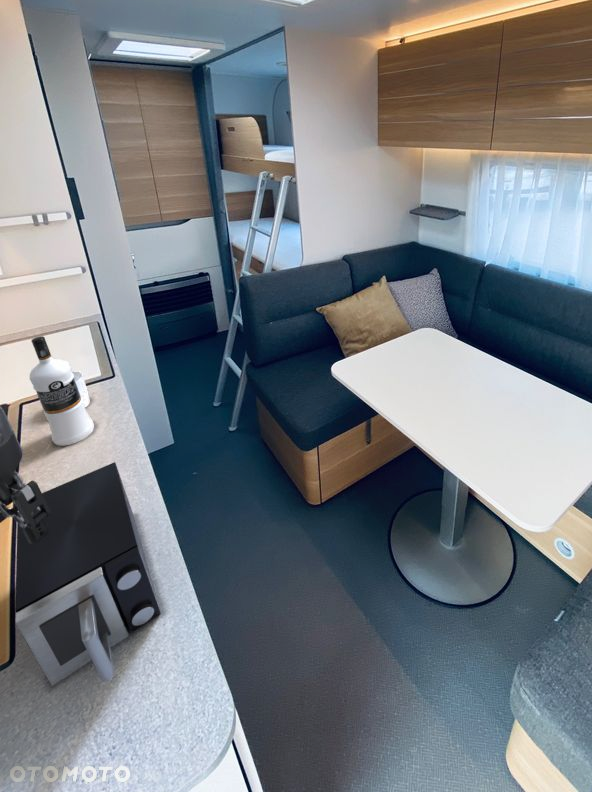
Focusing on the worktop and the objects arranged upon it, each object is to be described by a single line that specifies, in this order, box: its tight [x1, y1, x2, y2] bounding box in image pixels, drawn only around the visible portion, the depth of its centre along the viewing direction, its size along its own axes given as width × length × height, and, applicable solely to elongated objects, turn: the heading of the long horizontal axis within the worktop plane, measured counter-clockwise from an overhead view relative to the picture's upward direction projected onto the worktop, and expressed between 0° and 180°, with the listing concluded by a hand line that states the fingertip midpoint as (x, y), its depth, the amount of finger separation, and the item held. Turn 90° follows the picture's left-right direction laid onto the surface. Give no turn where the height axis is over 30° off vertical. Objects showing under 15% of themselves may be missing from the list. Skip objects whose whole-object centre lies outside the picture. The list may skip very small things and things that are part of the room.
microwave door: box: [15, 567, 129, 686], centre depth 59 cm, size 8×10×16 cm
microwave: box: [14, 461, 162, 633], centre depth 70 cm, size 24×15×16 cm, turn 38°
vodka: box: [29, 335, 95, 447], centre depth 105 cm, size 9×9×30 cm
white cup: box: [72, 371, 91, 408], centre depth 120 cm, size 8×8×10 cm
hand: (19, 529), depth 59 cm, fingers open, 8 cm apart
